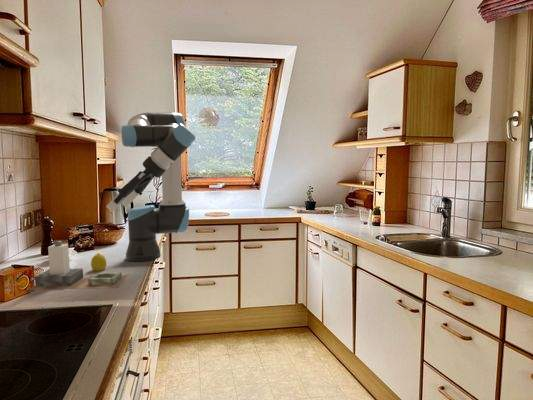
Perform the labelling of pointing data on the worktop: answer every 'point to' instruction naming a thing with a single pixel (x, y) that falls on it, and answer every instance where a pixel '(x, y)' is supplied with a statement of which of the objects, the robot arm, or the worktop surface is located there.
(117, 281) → the board
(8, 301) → the worktop surface
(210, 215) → the worktop surface
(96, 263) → the lemon
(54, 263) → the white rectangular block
